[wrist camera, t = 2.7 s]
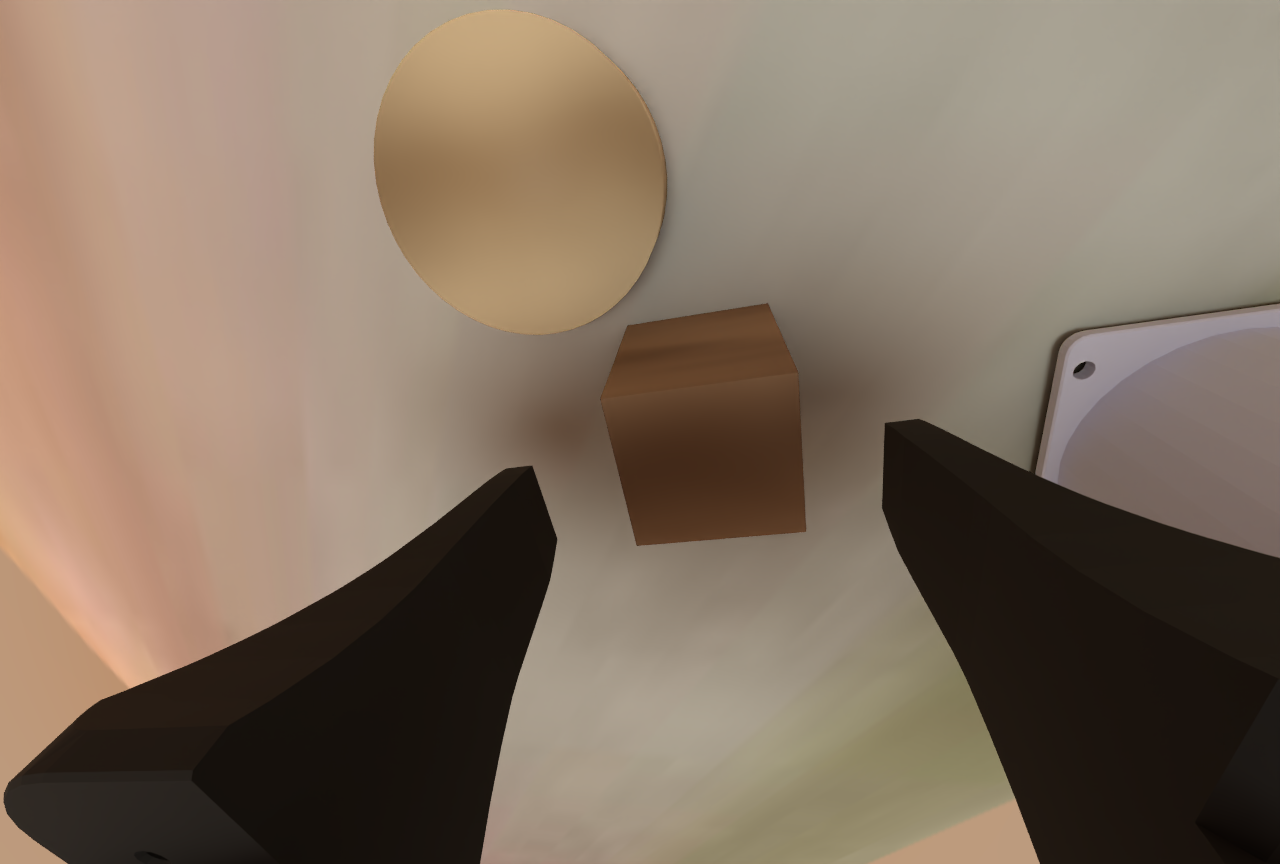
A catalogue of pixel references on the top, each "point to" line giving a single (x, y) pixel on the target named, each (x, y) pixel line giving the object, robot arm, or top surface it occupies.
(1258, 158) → the top surface
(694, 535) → the walnut block
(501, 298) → the maple plinth
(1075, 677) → the robot arm
